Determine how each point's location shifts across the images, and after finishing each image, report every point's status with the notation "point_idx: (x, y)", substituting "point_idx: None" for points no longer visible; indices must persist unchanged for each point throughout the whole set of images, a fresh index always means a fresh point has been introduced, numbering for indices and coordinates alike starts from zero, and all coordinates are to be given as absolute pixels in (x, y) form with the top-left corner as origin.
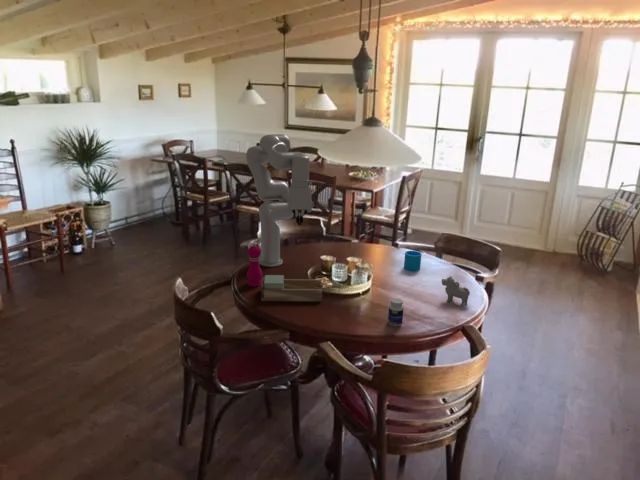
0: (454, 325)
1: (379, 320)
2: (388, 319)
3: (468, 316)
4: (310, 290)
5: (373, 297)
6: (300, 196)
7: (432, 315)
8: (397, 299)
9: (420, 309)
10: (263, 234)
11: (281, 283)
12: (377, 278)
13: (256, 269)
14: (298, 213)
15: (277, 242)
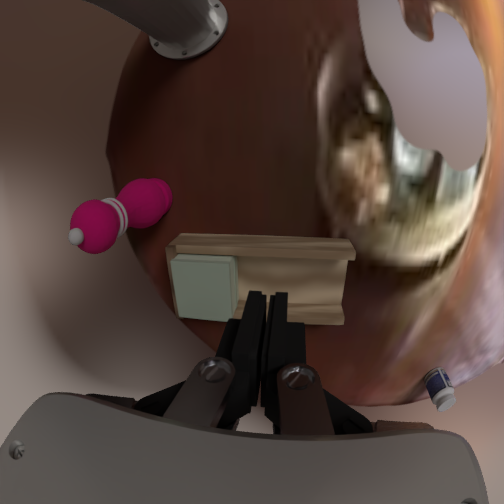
0: (493, 365)
1: (418, 370)
2: (426, 383)
3: None
4: (311, 323)
5: (455, 283)
6: None
7: (492, 344)
8: (450, 401)
9: (492, 327)
10: (110, 12)
11: (226, 321)
12: (495, 169)
13: (136, 225)
14: (237, 390)
15: (182, 6)
